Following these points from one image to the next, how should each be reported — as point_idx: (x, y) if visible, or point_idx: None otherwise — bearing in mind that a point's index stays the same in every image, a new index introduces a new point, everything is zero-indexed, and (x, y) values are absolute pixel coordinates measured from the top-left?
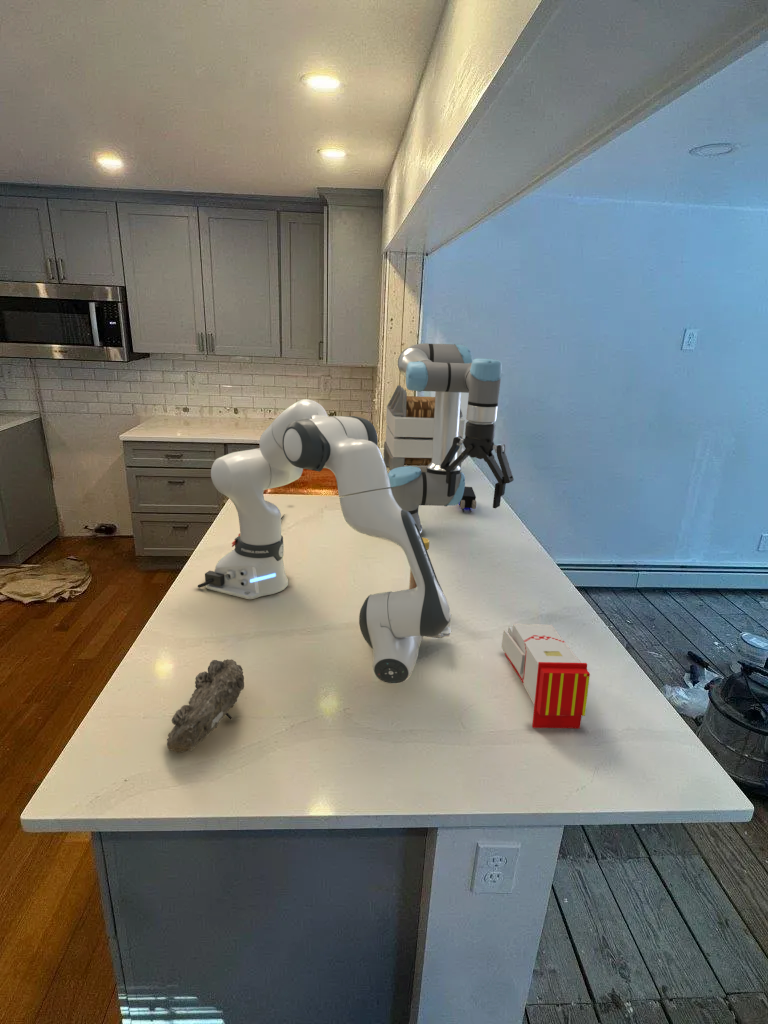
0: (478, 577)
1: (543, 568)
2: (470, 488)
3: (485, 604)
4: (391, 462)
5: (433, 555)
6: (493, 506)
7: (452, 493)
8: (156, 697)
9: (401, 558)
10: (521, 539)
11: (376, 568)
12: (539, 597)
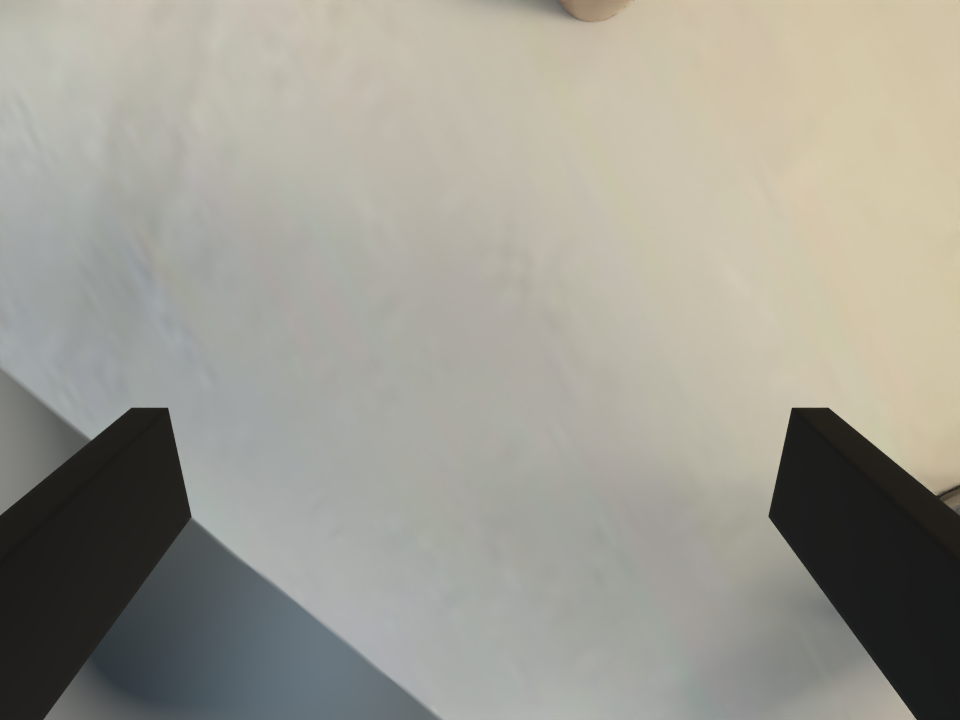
0: (500, 401)
1: (346, 613)
2: None
3: (356, 205)
4: None
5: (752, 458)
6: (149, 417)
7: (793, 486)
8: None
9: (868, 345)
10: None
11: (936, 175)
12: (233, 403)
